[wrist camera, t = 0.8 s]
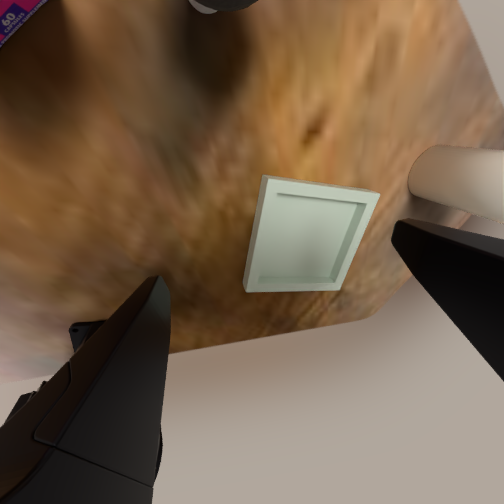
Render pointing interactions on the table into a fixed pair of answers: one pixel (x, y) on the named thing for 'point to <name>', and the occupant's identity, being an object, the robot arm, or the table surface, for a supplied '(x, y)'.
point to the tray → (305, 234)
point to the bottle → (461, 179)
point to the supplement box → (15, 15)
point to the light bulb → (220, 5)
